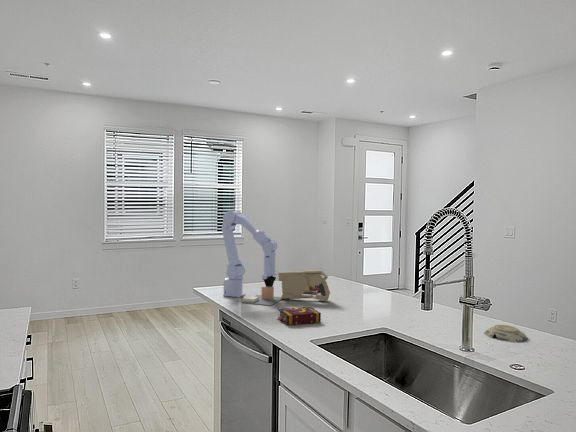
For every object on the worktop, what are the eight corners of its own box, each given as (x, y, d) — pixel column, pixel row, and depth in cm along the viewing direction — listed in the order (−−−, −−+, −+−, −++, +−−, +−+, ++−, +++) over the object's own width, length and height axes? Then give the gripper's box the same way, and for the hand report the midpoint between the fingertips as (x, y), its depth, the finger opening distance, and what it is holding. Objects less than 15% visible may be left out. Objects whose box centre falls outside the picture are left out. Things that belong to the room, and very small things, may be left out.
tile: (261, 298, 224) (261, 286, 223) (262, 297, 225) (262, 286, 225) (272, 299, 222) (272, 287, 221) (273, 298, 223) (273, 287, 223)
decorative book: (321, 323, 183) (321, 311, 183) (284, 326, 177) (284, 314, 177) (310, 316, 194) (310, 305, 193) (275, 319, 188) (275, 307, 188)
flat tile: (253, 302, 215) (253, 299, 215) (242, 301, 217) (242, 298, 217) (258, 300, 220) (258, 296, 220) (247, 298, 222) (247, 295, 222)
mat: (242, 303, 215) (242, 302, 215) (257, 295, 232) (257, 294, 232) (270, 306, 210) (270, 305, 210) (284, 298, 227) (284, 297, 227)
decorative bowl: (531, 336, 170) (490, 328, 180) (532, 327, 170) (490, 319, 180) (522, 346, 159) (479, 337, 168) (523, 336, 159) (479, 327, 168)
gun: (330, 300, 224) (328, 269, 223) (330, 301, 221) (328, 270, 220) (280, 301, 226) (279, 271, 226) (279, 303, 223) (278, 272, 223)
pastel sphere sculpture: (327, 294, 239) (327, 277, 239) (283, 293, 240) (283, 276, 239) (323, 285, 264) (324, 270, 264) (284, 285, 265) (284, 269, 264)
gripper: (271, 267, 216) (271, 294, 217) (282, 263, 230) (281, 289, 231) (258, 266, 219) (258, 293, 219) (269, 262, 232) (268, 288, 233)
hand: (269, 291), depth 225 cm, fingers closed
